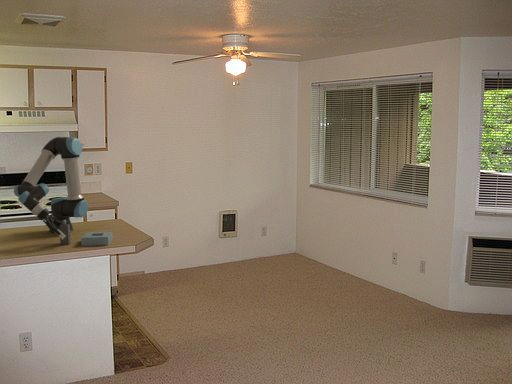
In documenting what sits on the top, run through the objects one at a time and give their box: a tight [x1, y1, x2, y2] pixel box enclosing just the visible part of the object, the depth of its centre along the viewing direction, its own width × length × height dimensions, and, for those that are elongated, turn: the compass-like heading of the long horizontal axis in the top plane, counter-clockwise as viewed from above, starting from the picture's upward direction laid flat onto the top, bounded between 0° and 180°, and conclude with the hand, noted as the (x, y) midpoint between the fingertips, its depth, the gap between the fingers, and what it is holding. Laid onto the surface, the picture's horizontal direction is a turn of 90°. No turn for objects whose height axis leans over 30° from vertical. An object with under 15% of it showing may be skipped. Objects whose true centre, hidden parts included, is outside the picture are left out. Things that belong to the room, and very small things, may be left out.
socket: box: [80, 231, 114, 247], centre depth 362 cm, size 16×16×5 cm
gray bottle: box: [59, 220, 72, 246], centre depth 358 cm, size 5×5×15 cm
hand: (67, 235), depth 358 cm, fingers open, 13 cm apart
